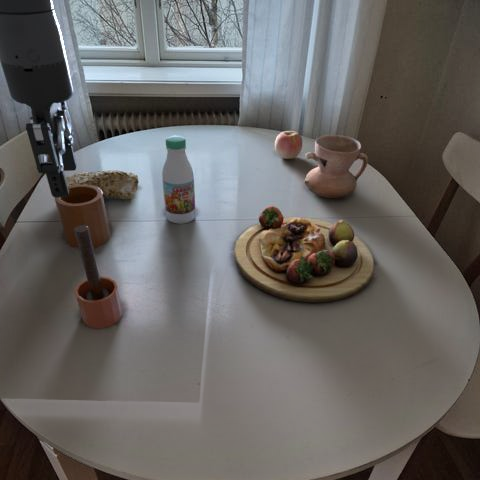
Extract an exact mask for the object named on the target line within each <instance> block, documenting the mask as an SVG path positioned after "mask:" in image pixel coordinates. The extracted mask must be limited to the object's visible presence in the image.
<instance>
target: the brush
mask: <svg viewBox="0 0 480 480" xmlns="http://www.w3.org/2000/svg"><path fill="white" fill-rule="evenodd" d="M74 231H75V235H76V239H77V242H78V246H79V248H78V250H79V254H80V258H81V262H82V264H83V269H84V273H85V276H86V279H87V280H88V284H89V288H90V291H89V292H88V294H87V300H91V301H93V300H101V299H103V298H106V297H108V296H109V292H108V291H107V290H106V289H103V288H102V284H101V280H100V271H99V266H98V264H97V259H96V255H95V251H94V248H93V246H92V242H91V237H90V233H89V229H88V227H87V226H84V225H81V226H77V227H76V228H75V229H74Z"/></svg>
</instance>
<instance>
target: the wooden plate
mask: <svg viewBox="0 0 480 480" xmlns="http://www.w3.org/2000/svg"><path fill="white" fill-rule="evenodd" d="M258 222H259V223H256V224H254V225H252V226H250V227H249V228H247V229H246V230H244V232H242V234H240V236H239V237H238V239H236V242H235V245H234V249H233V259H234V262H235V265H236V268H237V269H238V271H239V272H240V273H241V275H242V276H243V277H244V279H246V280H247V282H249V283H250V284H252V285H253V286H255V287H256V288H258V289H259V290H262V291H264V292H266V293H268V294H270V295H272V296H275V297H278V298H281V299H284V300H288V301H289V300H290V301H293V302H303V303H325V302H326V303H327V302H335V301H339V300H342V299H345V298H348V297H351V296H353V295H355V294H357V293H359V292H361V290H363V289H364V288H365V287H366V286H367V285H368V284H369V282H370V281H371V279H372V277H373V276H374V271H375V261H374V258H373V255H372V252H371V250H370V249H369V248H368V246H367V245H366V244H365V242H363V241H362V239H360V238H359V237H357V236H356V235H355V231H354V228H353V227H352V225H350V224H349V223H348V222H347V221H345V220H343V219H339V220H337V221H336V222H335V223H332V222H331V223H330V222H328V221H323V220H320V219H316V218H309V217H300V216H299V217H298V216H297V217H296V216H292V217H291V216H290V217H289V216H288V217H284V216H283V212H282V211H281V210H280V208H278V207H276V206H275V205H269V206H267V207H265V208H264V209H263V210H262V212H260V214H259V216H258Z"/></svg>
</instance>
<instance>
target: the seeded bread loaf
mask: <svg viewBox="0 0 480 480" xmlns="http://www.w3.org/2000/svg"><path fill="white" fill-rule="evenodd" d="M65 178H66V182H67V186H68V187H69V186H74V185H84V184H85V185H92V186H95V187H98V188H99V189H101V190H102V194H103V198H104V199H107V198H108V199H120V200H129V199H130V200H131V199H133V197H134V195H135V194H136V193H137V191H138V186H139V183H140V182H139V176H138V174H135V173H133V172H129V171H127V172H126V171H123V170H97V171H89V172H87V171H86V172H78V173H73V174H69V175H67V176H65Z"/></svg>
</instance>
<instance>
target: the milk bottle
mask: <svg viewBox="0 0 480 480" xmlns="http://www.w3.org/2000/svg"><path fill="white" fill-rule="evenodd" d="M165 146H166V147H165V149H166V150H167V151H166V152H167V153H166V157H165V161H164V164H163V167H162V174H161V176H162V177H161V178H162V179H161V180H162V191H163V201H164V203H163V204H164V213H165V218H166V219H167V221H168V222H171V223H173V224H174V223H175V224H186V223H190V222H192V221H193V220H194V219H195V218H196V194H195V177H194V171H193V167H192V164H191V163H190V161H189V159H188V157H187V153H186V150H187V140H186V138H185V137H183V136H181V135H171V136H168V137H166V139H165Z"/></svg>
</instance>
